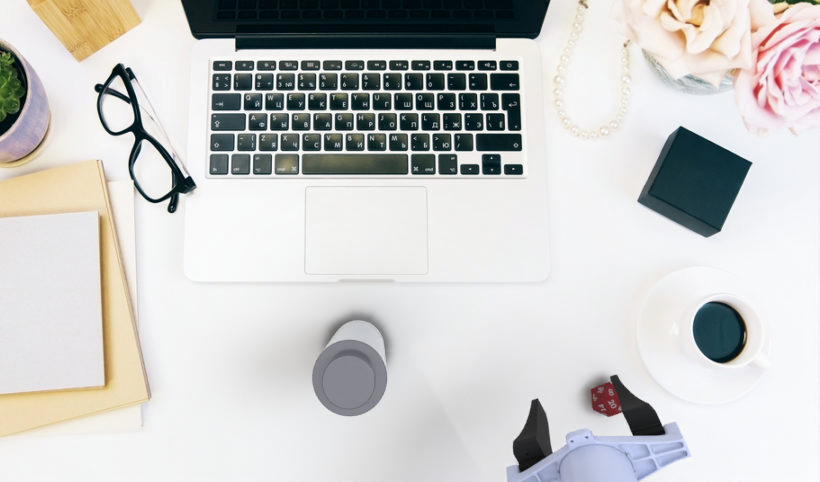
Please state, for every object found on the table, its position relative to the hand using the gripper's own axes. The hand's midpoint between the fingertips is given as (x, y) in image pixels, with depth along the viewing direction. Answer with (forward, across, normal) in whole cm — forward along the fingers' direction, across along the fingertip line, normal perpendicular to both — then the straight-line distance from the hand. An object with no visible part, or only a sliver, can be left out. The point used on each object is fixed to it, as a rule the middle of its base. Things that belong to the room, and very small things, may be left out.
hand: (576, 395), depth 56 cm
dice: (+13, -1, +12) cm, 18 cm away
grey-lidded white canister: (+11, +23, -7) cm, 26 cm away
